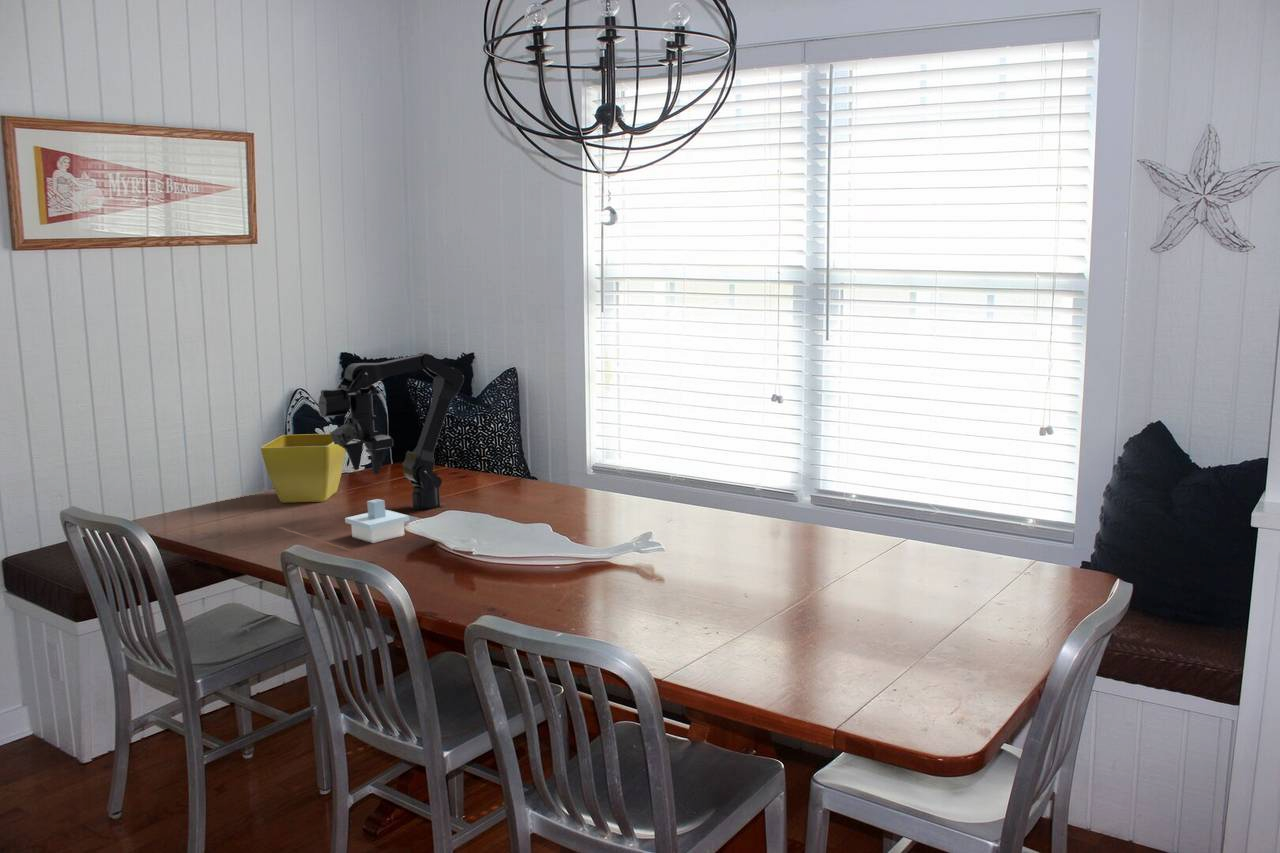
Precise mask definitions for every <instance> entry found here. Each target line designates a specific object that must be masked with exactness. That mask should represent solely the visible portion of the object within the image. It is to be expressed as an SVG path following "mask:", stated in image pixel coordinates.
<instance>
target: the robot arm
mask: <svg viewBox="0 0 1280 853" xmlns="http://www.w3.org/2000/svg"><path fill="white" fill-rule="evenodd" d="M419 370H423V371H424V372H426V374H427V375H429V376H430V377H432V378H433V381H432V394H433V398H432V400H431V402H430V403H431V404H430V405H429V409H428V413H427V415H426V418H425V421H424V424H423V427H422V431H421V433H420V437H419V438H418V442H417V445H416V447H415V448H414V449H413V451H410V450H407V451H406V453H405V458H404V460H403V462H402V464H401V466H403V468H402V473H403V475H404V477H406V479H408V481H409V482H410V485H412V493H411V498H412V506H410V508H411V509H414V510H418V511H422V512H428V511H431V510H436V509H439V508H444V505H443V504H441V501H440V500H441V499H440V487H441V486H442V482H443V479H442V478H441V477H439V475H437V474H436V473H435V472H434V468H435V457H434V456H435V449H436V446H437V444H438V440H439V437H440V434H441V431H442V429H443V425H444V422H445V419H446V417H447V413H448V410H449V407H450V404H451V402H452V401H453V399H455V397H456V396H457V395H458V394H459V392H460V390H461V388H462V386H463V384H464V382H465V376H464V374H463V372H462V371H461V369H459V368H455V367H451V366H450V365H448V364H446V363H445V362H443V361H441V360H439V359H438V358H436V357H435V356H434V355H432V354H431V353H428V352H419V353H417V354H412V355H408V356H405V357H400V358H396V359H395V358H394V359H390V360H386V361H382V362H358V363H357V362H356V363H355V362H354V363H350V364H349V365H348V366H347V367H346V368H345V371H344V377H342V380H341V382H340V383H339V384H338V386H337V389H321V390H320V395H319V399H318V403H317V404H318V405H317V406H318V412H319V413H320V415H321V417H322V418H326V417H328V418H329V417H336V416H345V415H347V414H348V413H347V412H349V411H350V414H349V415H350V416H347V417H346V424H343V425H341V426H339V427H338V428H336V429H334V430H332V431H331V432H330V433H329V434H331V437H332V439H333V441H334V444H339V446H341V447H343V448H344V449H345V452H346V453H347V455H348V457H349V460H350V462H351V465H352V467H353V470H354V471H358V470H360V466H361V460H362V454H363V447H364V446H365V447H366V449H365V452H366V453H367V454H369V456H370V461H371V467H372V468H371V469H372V472H373V475H378V474H379V473H380V470H381V469H382V468H381V467H382V465H383V462H384V460H385V458H386V456H387V454H388V453H389V450H391V449H392V447H394V439H393V437H392V436H391V435H387V434H379V431H378V430H375V421H377V420H378V415H375V414H374V406H373V405H374V404H373V395H379V394H380V393H381V390H378V389H377V387H376V386H375V385H374V384H377V383H378V382H380V381H381V380H383V379H385V378H389V377H393V376H397V375H401V374H406V373H411V372H414V371H419Z"/></svg>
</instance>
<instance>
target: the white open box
mask: <svg viewBox="0 0 1280 853" xmlns="http://www.w3.org/2000/svg"><path fill="white" fill-rule="evenodd" d="M350 526H351V536H352V538H354V539H358V540H362V541H363V542H367V543H371V544H374V543H375V544H376V543H379V542H383V541H386V540H390V539H391V540H392V539H394V538H399V537H403V536H405V525H404V522H401V523H397V524H393V525H389V526H385V527H380V528H376V529H372V530H369V529H365V528H362V527H358V526H355V525H351V524H350Z"/></svg>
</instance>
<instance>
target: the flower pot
mask: <svg viewBox="0 0 1280 853" xmlns="http://www.w3.org/2000/svg"><path fill="white" fill-rule="evenodd" d="M260 451H261V455H262V460H263V462H264V465H265V468H266V471H267V474H268V478H269V480H270V482H271V484H272V486H273V489H274V491H275V493H276V496H277V498H278V499H279V501H280V503H316V502H317V503H322V502H326V501H327V500H328V499H329V498H331V497H332V496H333V495H334V494H336V493H337V492H338V488H339V485H340V480H341V477H342V474H343V473H342V472H343V467H344V462H345V461H344V460H345V454H346V450H345V449H344V448H343V447H341V446H339V444H334V441H333V439H332V437H331V434H330V433H312V434H311V433H307V434H306V433H305V434H303V433H302V434H283V435H280V436H278V437H277V438H275V439H273V440H271V441H270V442H268V443H266V444H264V445H262V446H261V447H260Z"/></svg>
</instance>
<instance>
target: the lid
mask: <svg viewBox="0 0 1280 853" xmlns="http://www.w3.org/2000/svg"><path fill="white" fill-rule="evenodd" d="M366 504H367V505H366V507H367V512H365V513H361V514H356V515H353V516H352V515H351V516H348V517H344V521H345V524H349V525H350V526H351V525H355V526H358V527H362V528H365V529H369V530H372V529H376V528H380V527H385V526H389V525H393V524H397V523H401V522H405V521H409V516H410V515H409V516H408V514H404V513H402V514H401V512H398V513H397V511H393V510H390V509H389V510H388V509H386V502H385V500H384V499H381V498H380V499H379V498H375V499H371V500H366Z"/></svg>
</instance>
